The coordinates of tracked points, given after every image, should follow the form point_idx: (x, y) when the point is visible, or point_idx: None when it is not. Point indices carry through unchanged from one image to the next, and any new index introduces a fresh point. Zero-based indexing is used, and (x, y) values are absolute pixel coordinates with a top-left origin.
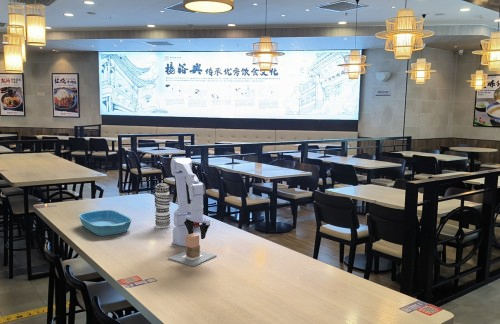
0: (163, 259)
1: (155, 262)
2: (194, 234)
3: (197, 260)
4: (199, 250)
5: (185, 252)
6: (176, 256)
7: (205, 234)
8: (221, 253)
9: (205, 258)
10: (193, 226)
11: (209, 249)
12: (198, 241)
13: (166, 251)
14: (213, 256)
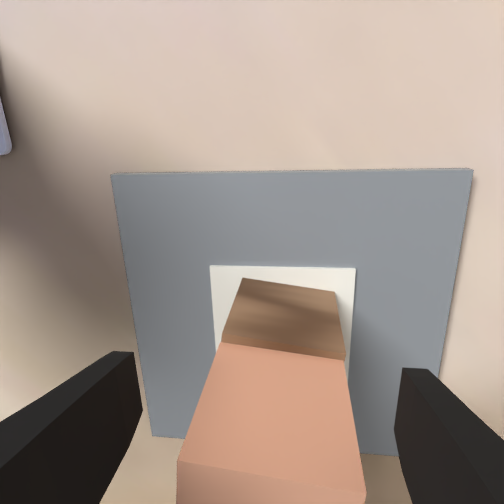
0: (139, 442)
1: (145, 494)
2: (254, 493)
3: (383, 374)
4: (339, 324)
5: (158, 287)
6: (177, 389)
7: (471, 426)
8: (469, 46)
9: (418, 304)
10: (8, 462)
11: (257, 30)
12: (347, 414)
13: (14, 325)
14: (463, 219)
